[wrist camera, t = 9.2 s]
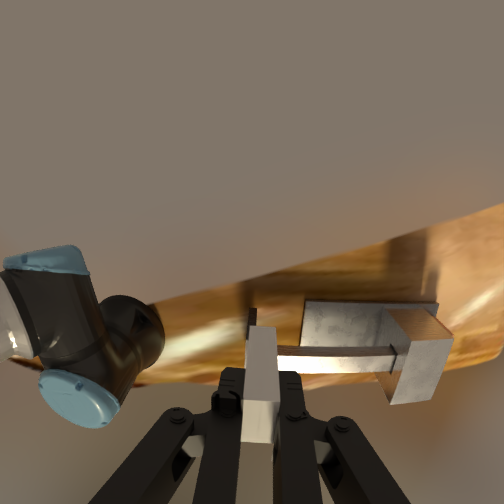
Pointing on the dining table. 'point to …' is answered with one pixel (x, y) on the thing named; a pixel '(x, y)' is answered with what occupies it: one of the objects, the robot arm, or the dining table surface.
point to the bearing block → (385, 340)
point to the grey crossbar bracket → (330, 356)
